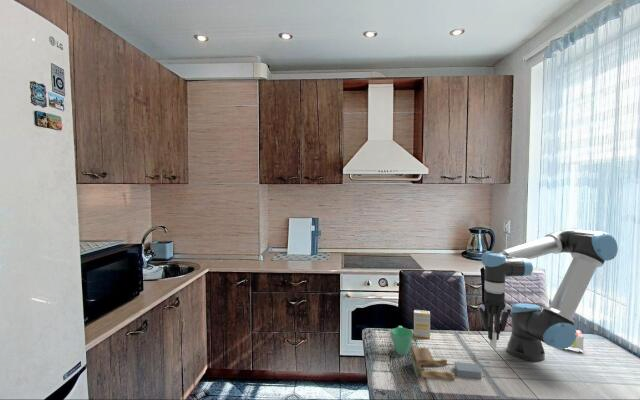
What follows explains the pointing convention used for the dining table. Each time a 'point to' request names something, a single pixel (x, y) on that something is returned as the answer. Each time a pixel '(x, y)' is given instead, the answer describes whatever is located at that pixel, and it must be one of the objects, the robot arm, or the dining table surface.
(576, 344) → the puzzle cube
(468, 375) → the tile
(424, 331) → the supplement box
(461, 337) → the dining table surface
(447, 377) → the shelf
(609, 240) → the robot arm
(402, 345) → the green pitcher
